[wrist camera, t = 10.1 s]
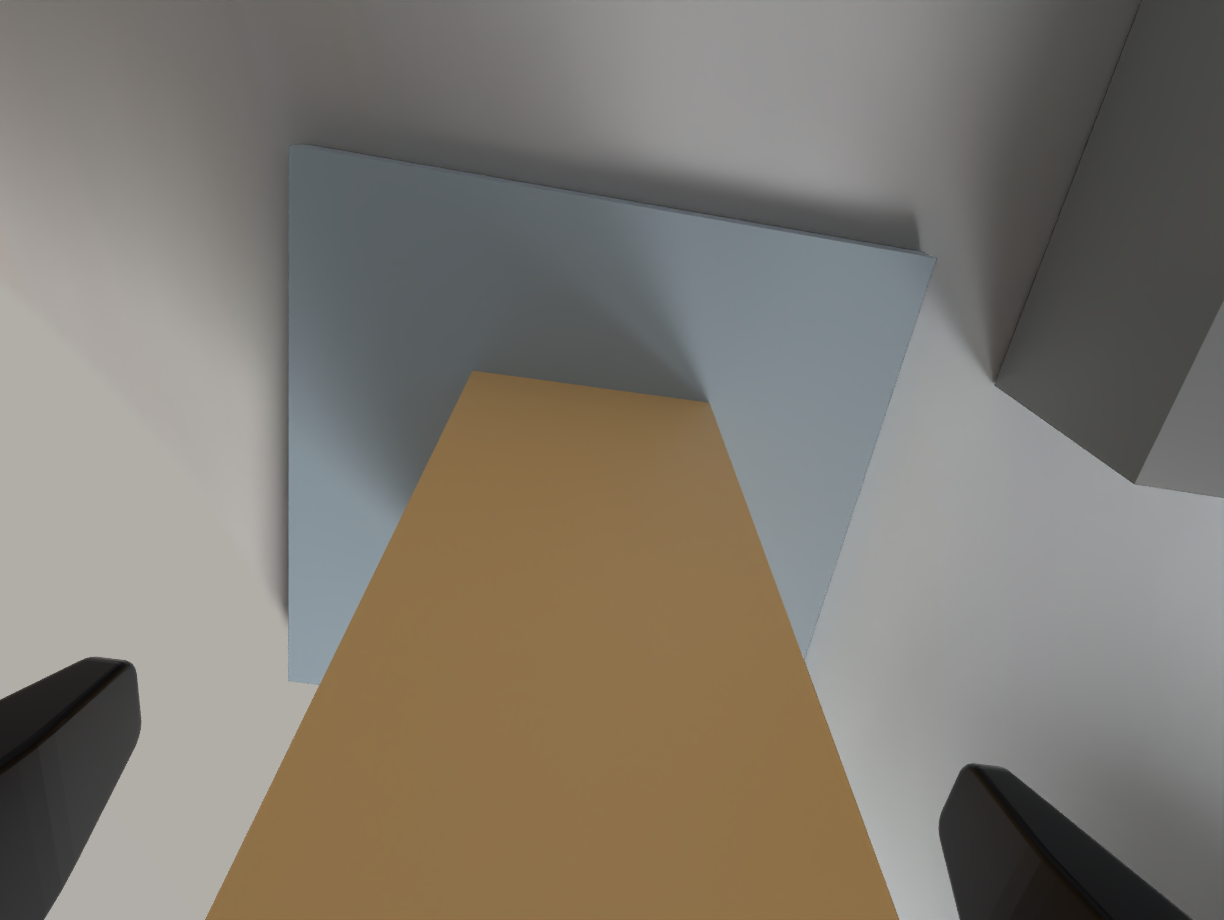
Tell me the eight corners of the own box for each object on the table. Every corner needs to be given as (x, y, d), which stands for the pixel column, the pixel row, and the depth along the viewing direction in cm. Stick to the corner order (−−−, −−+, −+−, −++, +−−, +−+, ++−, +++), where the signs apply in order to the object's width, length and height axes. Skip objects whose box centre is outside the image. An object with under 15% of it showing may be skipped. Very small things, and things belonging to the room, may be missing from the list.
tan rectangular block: (709, 402, 13) (1041, 1307, 3) (668, 599, 15) (805, 1611, 5) (472, 370, 13) (42, 1252, 3) (456, 575, 15) (142, 1592, 5)
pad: (922, 251, 13) (936, 258, 12) (771, 720, 17) (777, 740, 16) (303, 144, 12) (288, 146, 12) (298, 661, 16) (288, 681, 16)
